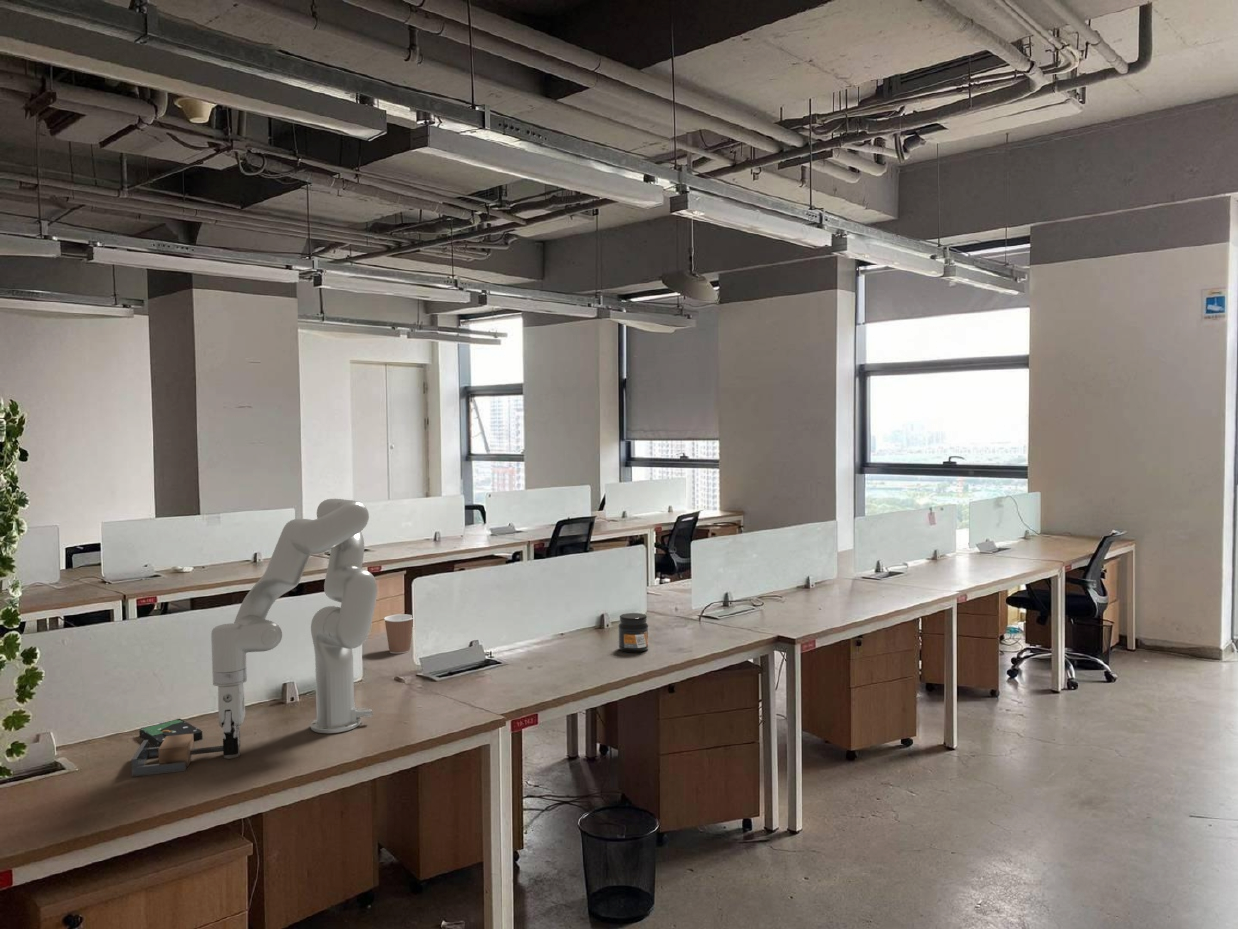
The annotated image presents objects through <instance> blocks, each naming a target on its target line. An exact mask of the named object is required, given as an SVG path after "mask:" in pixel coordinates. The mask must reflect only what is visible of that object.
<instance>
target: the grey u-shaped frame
mask: <svg viewBox="0 0 1238 929" xmlns="http://www.w3.org/2000/svg"><path fill="white" fill-rule="evenodd" d="M149 746H150V743H149V742H148V740H144V739H143V741H142V742H141V744H140V746H138V749H137V750H136V752H135V753H134V755H133V756H132V758H131V776H132V778H133V777H141V776H142V777H143V776H152V775H153V776H154V775H158V774H167V773H170V774H171V773H178V772H185V771H187V767H186V761H178V762H169V763H161V764H159V763H154V764H146V765H145V763H146V762H147V761H148V759H149V758H154V757H155V758H156V757H159V752H158V749H159V747H155V746H153V747H152V746H151V747H149Z"/></svg>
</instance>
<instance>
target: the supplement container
mask: <svg viewBox="0 0 1238 929" xmlns="http://www.w3.org/2000/svg"><path fill="white" fill-rule="evenodd" d="M647 622H648V616H647V614H644V613H640V612H627V613H622V614H620V615H619V623H618V625H617V626H618V627H617V628H618V649H619V650H620V651H621V652H625V653H629V654H630V653H631V654H636V653H637V654H638V653H643V652H646V651H647V650H648V648H649V624H648V623H647Z"/></svg>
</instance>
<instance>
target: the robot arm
mask: <svg viewBox="0 0 1238 929" xmlns="http://www.w3.org/2000/svg"><path fill="white" fill-rule="evenodd" d="M369 514H370V513H369V510H368V508H367V507H366V506H365V504H363V503H362V502H360V501H358V500H350V499H343V498H342V499H341V498H329V499H328V498H327V499H324V500H323V501H321V502H320V503H319V505H318V506H317V509H316V519H315V518H314V519H309V518H295V519H291V520H290V521H287V523H286V524H285V525H284V526H283V528H282V531H281V533H280V535H279V537H278V540H277V543H276V544H275V547H274V550H273V553H272V555H271V557H270V560H269V562H268V564H267V567H266V570H265V572H264V573H263V575H262V576H261V577H260V578H259V580H257V582H256V583H255V584H254V585H253V587H252V588H251V589H250V590H249V591H248V593H247V594H246V596H245V597H244V598H243V601H241V604H240V607H239V609H238V611H237V614H236V616H235V618H234V622H233V623H223V624H219V625H217V626H215V627H213V629H212V630H211V634H210V635H211V636H210V638H211V639H210V640H211V666H212V667H211V668H212V669H211V670H212V685H213V686H214V687H217V705H218V706H217V707H218V709H217V710H218V723H219V724H218V725H219V727H220V728H222V729H223V732H222V738H223V739H222V746H223V751H222V753H223V757H224V756H226V755H235V754H238V737H236V729H239V735H240V736H241V731H240V727H241V726H242V725H243V722H244V720H245V716H246V705H245V688H244V683H246V682H247V681H248V679H247V678H248V674H247V669H248V668H247V653H262V652H263V653H264V652H269V651H271V650H274V649H275V648H277V646H279V644H280V643H281V641H282V640H283V632H282V628H281V627H280V626H279V625H278V624H277V623H276V622H273V621H272V620H269V619H267V615H268V613H269V612H270V609H271V608H272V606H273V604H274V603H275V602H276V601H277V600H278V599H279V598H280V597H281V596H283V595H284V594H287V593H288V592H290V591H291V590H293V589H294V588H296V587H297V586H298V585H299V583H300V581H301V578H302V576H303V574H304V571H305V568H306V565H307V564H308V561H309V559H310V557H311V555H320V554H323V553H325V552H327V551H329V550H330V552H329V553H330V554H329V558H328V564H327V569H326V573H325V578H324V579H325V580H324V584H323V588H324V589H323V590H324V594H325V596H327V598H329V599H330V600H332V601H335V602H338V603H340V606H335V605H332V606H331V605H330V606H325V607H322V608H320V609H319V610H318V611H317V612H316V613H315V614H314V616H312V617H313V618H312V620H311V623H310V633H311V638H312V644H313V650H314V661H315V663H314V664H315V671H314V672H315V702H316V705H315V706H316V719H314V720H313V721H311V723H310V729H311V731H313V732H315V733H319V734H337V733H343V732H347V731H352V730H353V729H356V728H357V727H359V726H360V725H361V723H362V722H361V721H362V720H361V718H364V717H365V718H370V717H373V709H372V708H369V709H368V707H362V708H359V707H356V706H357V705H356V703H355V684H354V683H355V681H354V679H355V677H354V655H353V649H356V648H359V647H361V646H362V645H363V644H364V643H366V640H367V638H368V637H369V634H370V631H371V627H372V623H373V619H374V613H375V607H376V603H377V596H378V584H377V581H376V580H377V579H376V578H375V577H374V575H373V574H372V572H370V571H368V570H367V569H363V562H364V555H365V554H364V553H365V540H364V535H363V533H362V531H363V530H364V528H366V527H367V525H368V522H369V518H370V515H369ZM231 729H232V730H231Z"/></svg>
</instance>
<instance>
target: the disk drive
mask: <svg viewBox="0 0 1238 929" xmlns="http://www.w3.org/2000/svg"><path fill="white" fill-rule="evenodd" d="M183 734H193V736H194V742H197V741H202V740H203V736H204V735H203V731H202V730H201V729H199V728H197V727H196V726H194V725H192V724H191V723H189V722H187V721H185V720H184V719H181V718H177V719H172V720H168V721H165V722H164V721H163V722H159V723H158V724H157V723H156V724H154V725H149V726H146V727H145V726H144V727H141V729H140V730H139V737H140V738H141V739H142V740H143V741H144V740H148V743H149V745H150V744H151V745H152V746H153V747H160V746H161V744H162V742H163V741H164V739H165V737H166V736H174V735H183Z"/></svg>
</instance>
